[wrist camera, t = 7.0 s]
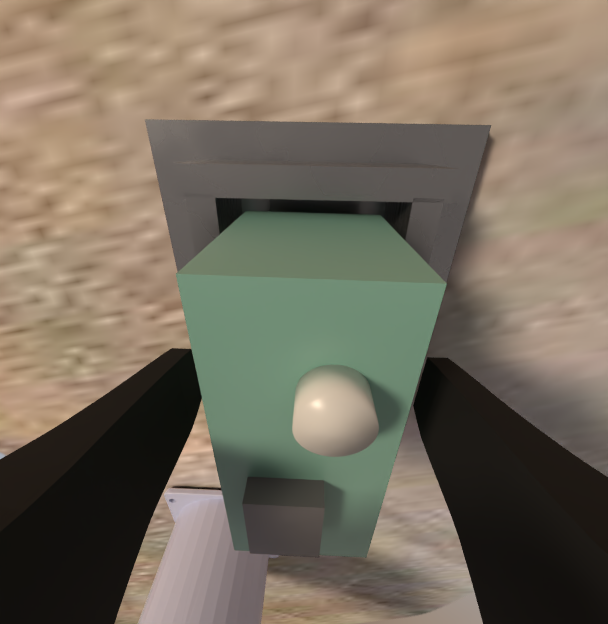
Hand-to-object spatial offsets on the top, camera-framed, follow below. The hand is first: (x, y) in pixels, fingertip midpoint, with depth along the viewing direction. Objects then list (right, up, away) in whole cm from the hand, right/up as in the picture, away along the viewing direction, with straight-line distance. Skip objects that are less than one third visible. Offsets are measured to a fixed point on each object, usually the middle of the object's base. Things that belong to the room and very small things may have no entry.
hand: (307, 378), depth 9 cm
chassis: (0, +2, +4) cm, 5 cm away
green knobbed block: (0, +1, +2) cm, 2 cm away
